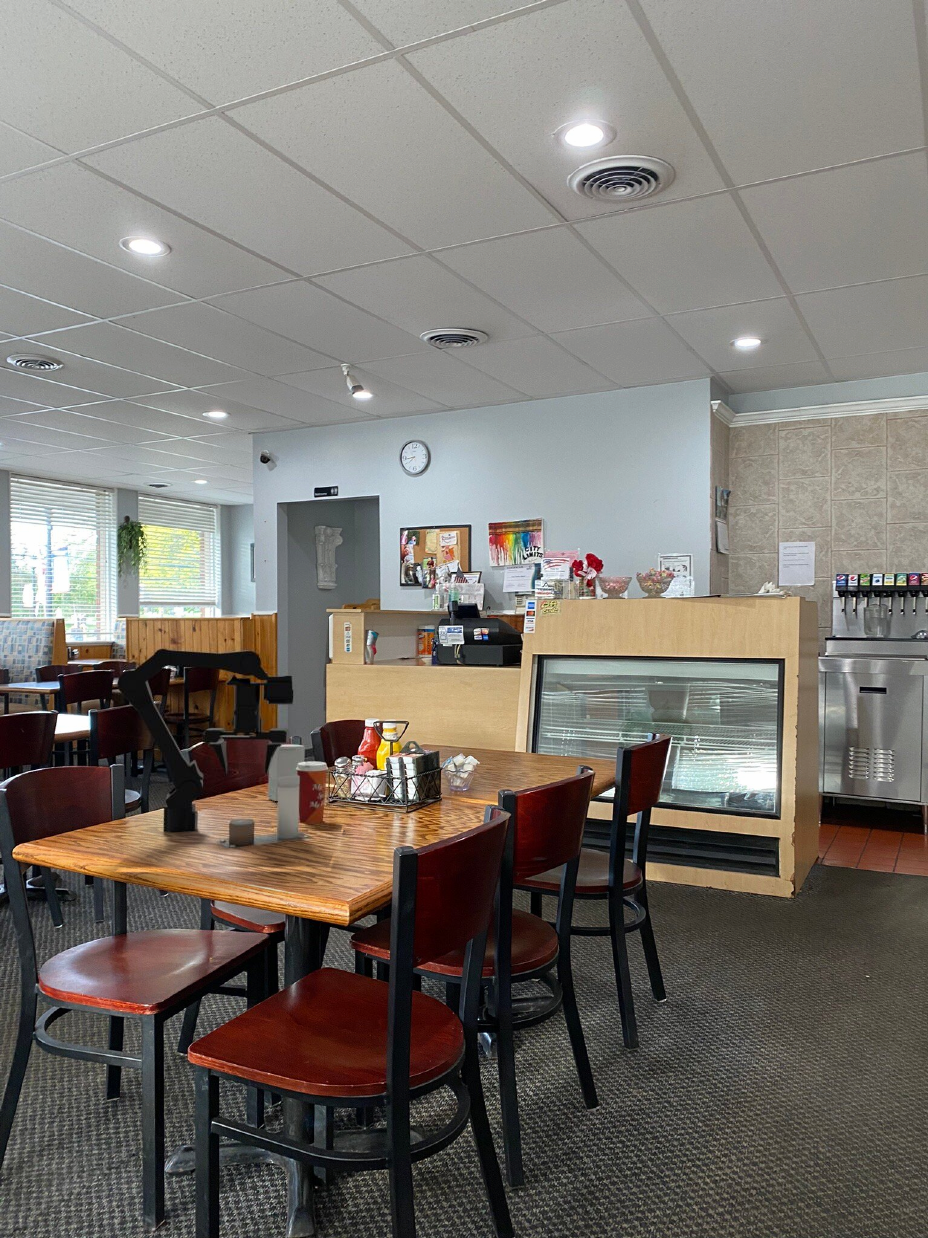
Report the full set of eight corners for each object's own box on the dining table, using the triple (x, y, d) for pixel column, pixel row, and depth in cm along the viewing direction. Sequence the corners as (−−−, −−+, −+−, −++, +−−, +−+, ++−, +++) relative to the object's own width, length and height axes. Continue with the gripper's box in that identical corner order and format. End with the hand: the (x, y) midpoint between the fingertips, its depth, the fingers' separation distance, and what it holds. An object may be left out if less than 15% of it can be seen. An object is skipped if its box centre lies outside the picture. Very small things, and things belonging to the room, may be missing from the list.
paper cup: (320, 825, 210) (321, 766, 210) (289, 824, 211) (291, 764, 212) (332, 819, 218) (333, 761, 218) (302, 817, 219) (303, 760, 219)
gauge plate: (228, 852, 183) (229, 847, 183) (215, 845, 189) (215, 839, 189) (313, 841, 194) (313, 836, 194) (298, 834, 200) (298, 829, 200)
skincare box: (276, 802, 239) (277, 746, 239) (267, 799, 244) (268, 744, 244) (304, 799, 244) (305, 745, 244) (295, 796, 249) (296, 742, 249)
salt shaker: (277, 839, 192) (278, 778, 192) (276, 834, 196) (277, 775, 196) (299, 838, 193) (300, 777, 193) (297, 833, 197) (298, 774, 198)
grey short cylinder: (226, 845, 186) (226, 823, 186) (231, 839, 191) (231, 818, 191) (251, 845, 186) (252, 823, 186) (256, 839, 191) (256, 818, 191)
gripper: (292, 702, 213) (291, 768, 213) (213, 702, 212) (212, 768, 211) (286, 706, 202) (285, 775, 201) (202, 705, 201) (201, 775, 200)
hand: (246, 773), depth 204 cm, fingers open, 9 cm apart
